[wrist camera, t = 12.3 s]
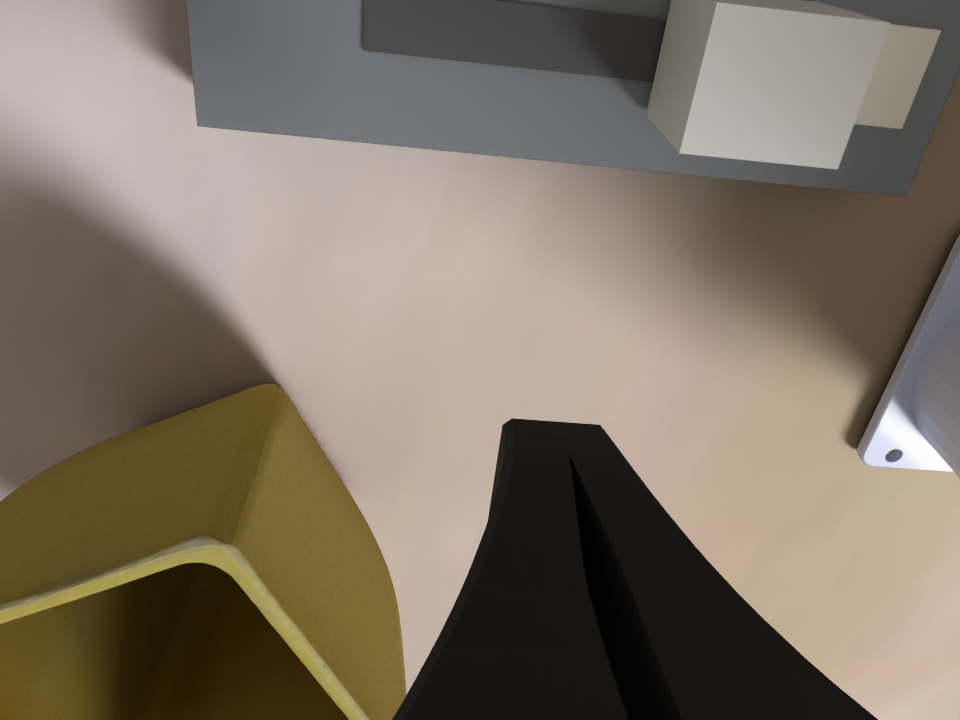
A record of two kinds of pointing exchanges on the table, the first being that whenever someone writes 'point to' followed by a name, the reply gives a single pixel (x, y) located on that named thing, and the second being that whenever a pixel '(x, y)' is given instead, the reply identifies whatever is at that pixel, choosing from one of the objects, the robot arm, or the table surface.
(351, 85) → the panel
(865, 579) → the table surface
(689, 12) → the switch
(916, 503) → the table surface
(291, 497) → the flower pot
